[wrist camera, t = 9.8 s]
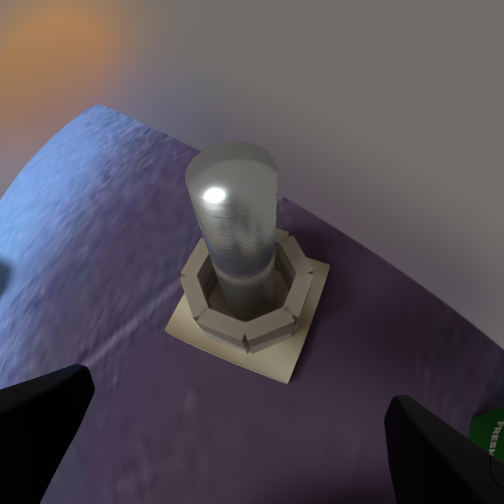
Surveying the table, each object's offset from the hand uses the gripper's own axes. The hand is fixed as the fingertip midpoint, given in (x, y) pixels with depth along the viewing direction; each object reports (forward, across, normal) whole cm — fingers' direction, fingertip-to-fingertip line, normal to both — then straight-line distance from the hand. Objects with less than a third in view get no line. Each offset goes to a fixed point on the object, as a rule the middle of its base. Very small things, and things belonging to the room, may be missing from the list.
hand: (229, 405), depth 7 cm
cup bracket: (+16, +1, +4) cm, 16 cm away
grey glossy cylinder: (+15, +1, +3) cm, 15 cm away
